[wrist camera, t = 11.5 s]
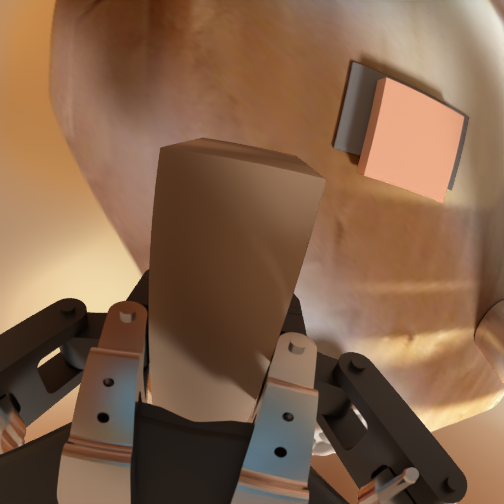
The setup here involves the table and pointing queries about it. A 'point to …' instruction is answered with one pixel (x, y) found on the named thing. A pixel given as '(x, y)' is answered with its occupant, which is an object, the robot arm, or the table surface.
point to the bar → (223, 271)
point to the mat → (360, 109)
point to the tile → (410, 140)
